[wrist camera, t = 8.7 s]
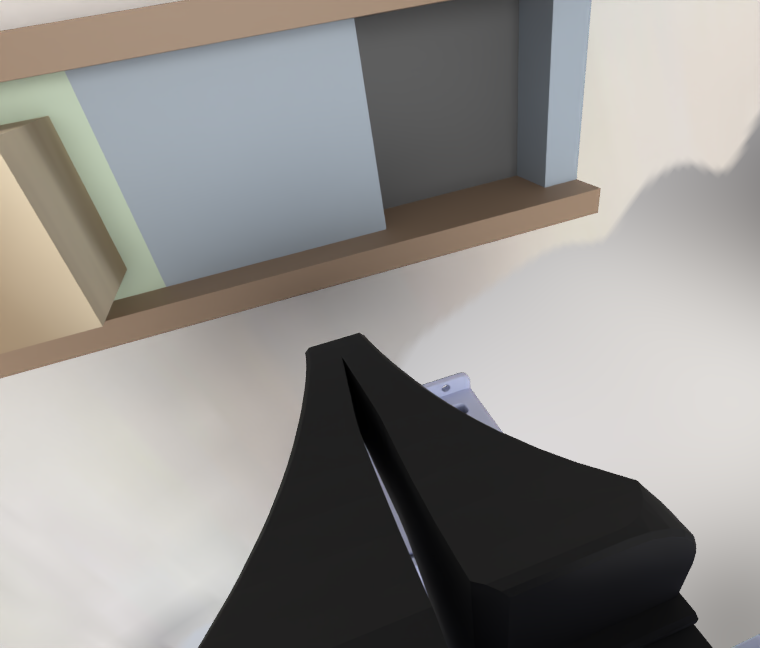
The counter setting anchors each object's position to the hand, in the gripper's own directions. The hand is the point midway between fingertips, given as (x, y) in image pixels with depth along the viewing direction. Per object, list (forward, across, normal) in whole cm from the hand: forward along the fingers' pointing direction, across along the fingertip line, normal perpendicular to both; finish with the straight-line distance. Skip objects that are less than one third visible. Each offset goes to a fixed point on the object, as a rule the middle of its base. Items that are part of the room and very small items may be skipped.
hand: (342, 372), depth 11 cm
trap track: (+10, +3, -3) cm, 11 cm away
